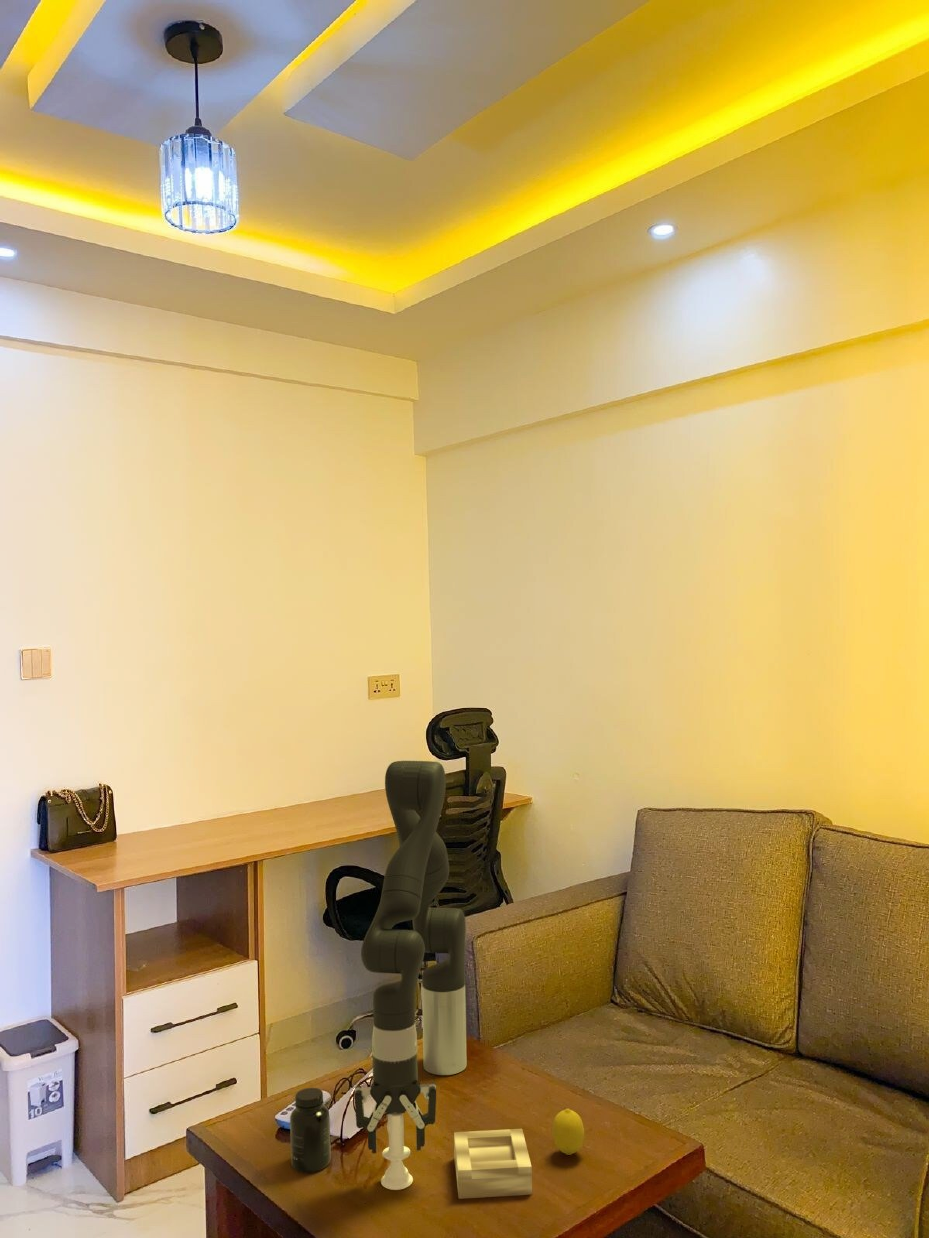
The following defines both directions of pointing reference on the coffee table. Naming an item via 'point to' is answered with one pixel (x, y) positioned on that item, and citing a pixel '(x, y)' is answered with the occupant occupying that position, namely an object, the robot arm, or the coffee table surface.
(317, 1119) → the supplement bottle
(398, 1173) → the candle
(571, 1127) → the lemon
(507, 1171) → the birch plinth
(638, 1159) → the coffee table surface
